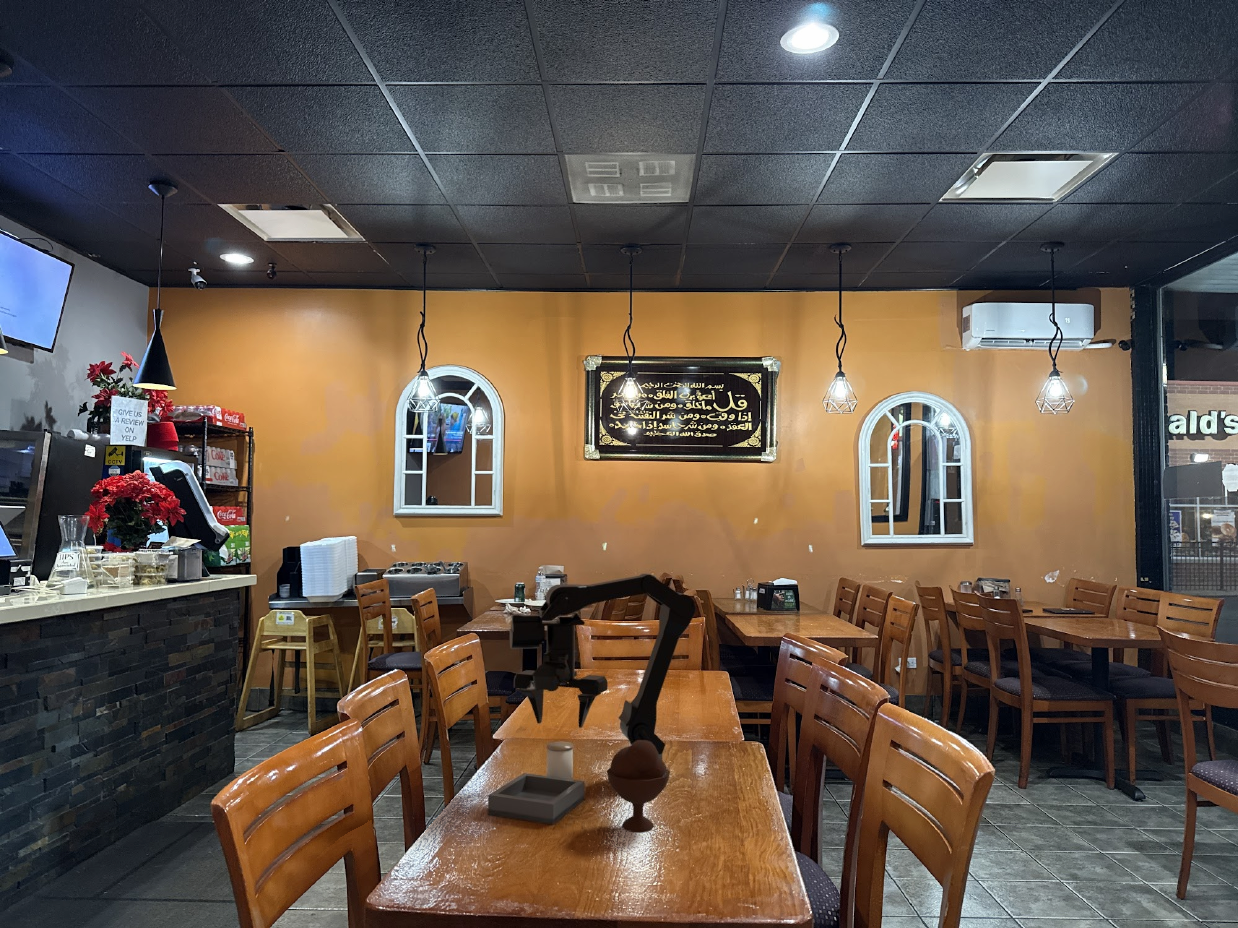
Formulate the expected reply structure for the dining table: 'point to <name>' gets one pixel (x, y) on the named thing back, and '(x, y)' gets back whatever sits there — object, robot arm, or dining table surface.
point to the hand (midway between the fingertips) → (559, 725)
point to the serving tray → (536, 798)
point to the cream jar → (560, 759)
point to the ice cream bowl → (638, 780)
